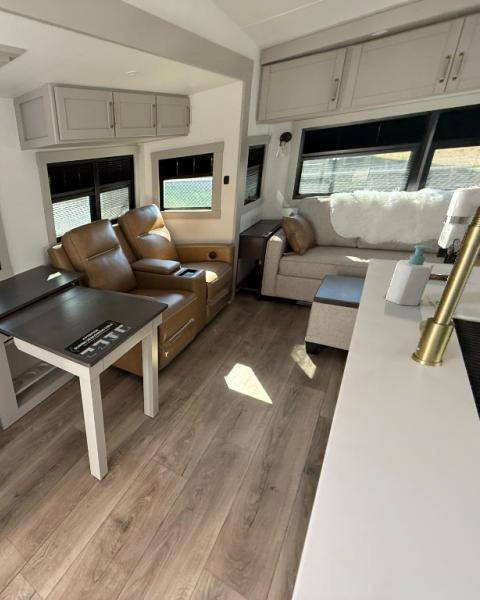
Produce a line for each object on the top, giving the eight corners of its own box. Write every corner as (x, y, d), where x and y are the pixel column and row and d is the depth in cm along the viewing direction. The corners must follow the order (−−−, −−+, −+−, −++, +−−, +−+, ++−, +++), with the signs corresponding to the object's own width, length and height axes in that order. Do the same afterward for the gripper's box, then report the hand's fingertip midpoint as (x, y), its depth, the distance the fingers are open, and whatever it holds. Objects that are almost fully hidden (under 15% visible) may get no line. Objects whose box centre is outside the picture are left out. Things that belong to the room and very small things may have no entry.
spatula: (401, 279, 143) (404, 273, 141) (399, 275, 147) (401, 269, 146) (458, 284, 133) (461, 278, 132) (454, 280, 138) (456, 273, 136)
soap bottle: (415, 308, 118) (437, 251, 109) (383, 301, 125) (401, 247, 116) (421, 300, 123) (442, 245, 115) (389, 294, 130) (407, 241, 122)
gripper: (439, 216, 137) (427, 254, 143) (451, 223, 124) (438, 265, 131) (464, 216, 133) (451, 255, 139) (480, 223, 120) (465, 266, 126)
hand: (444, 260), depth 135 cm, fingers open, 9 cm apart
